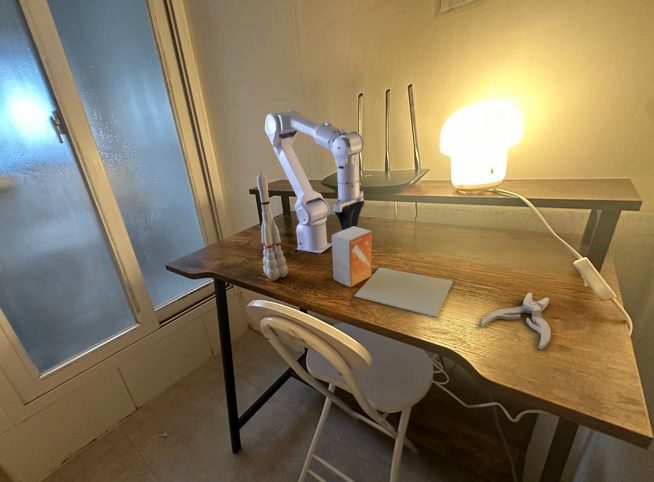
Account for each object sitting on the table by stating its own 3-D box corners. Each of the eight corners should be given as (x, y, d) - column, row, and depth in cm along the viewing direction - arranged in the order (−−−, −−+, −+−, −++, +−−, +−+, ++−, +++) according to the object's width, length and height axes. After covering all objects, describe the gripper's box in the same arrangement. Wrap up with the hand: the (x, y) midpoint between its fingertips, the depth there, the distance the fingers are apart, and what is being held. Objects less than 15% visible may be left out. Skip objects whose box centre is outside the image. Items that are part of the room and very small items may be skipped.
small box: (350, 288, 76) (349, 240, 71) (333, 279, 81) (330, 234, 76) (372, 276, 80) (372, 230, 74) (354, 269, 85) (353, 225, 79)
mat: (354, 296, 73) (354, 295, 73) (379, 268, 84) (379, 267, 83) (435, 317, 62) (435, 316, 62) (452, 281, 73) (452, 280, 73)
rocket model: (292, 271, 89) (279, 166, 76) (284, 284, 83) (268, 172, 70) (269, 270, 91) (253, 168, 78) (260, 282, 85) (240, 174, 72)
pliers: (480, 318, 58) (510, 287, 65) (478, 325, 58) (509, 293, 66) (545, 342, 50) (571, 303, 58) (543, 350, 51) (568, 310, 59)
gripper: (350, 188, 74) (351, 239, 80) (373, 175, 84) (373, 221, 90) (325, 187, 78) (328, 236, 84) (349, 175, 88) (351, 219, 94)
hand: (349, 228), depth 87 cm, fingers open, 4 cm apart
